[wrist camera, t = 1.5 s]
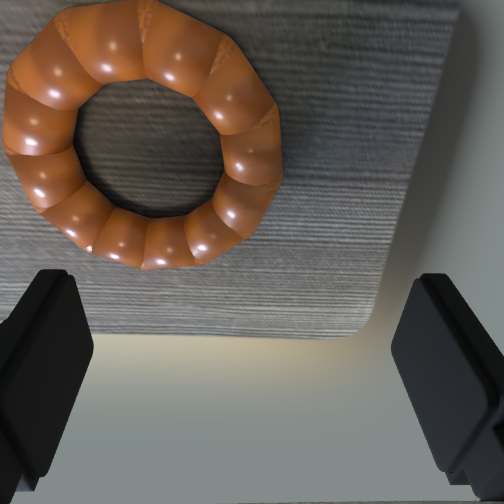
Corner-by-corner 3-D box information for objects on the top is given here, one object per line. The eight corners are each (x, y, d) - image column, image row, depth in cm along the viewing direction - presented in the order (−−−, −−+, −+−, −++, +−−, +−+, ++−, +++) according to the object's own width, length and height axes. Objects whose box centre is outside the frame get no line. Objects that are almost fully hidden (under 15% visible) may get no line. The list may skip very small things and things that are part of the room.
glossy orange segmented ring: (157, -81, 15) (141, -90, 12) (325, 171, 21) (335, 196, 18) (-34, 120, 19) (-72, 141, 16) (152, 281, 25) (143, 312, 23)
